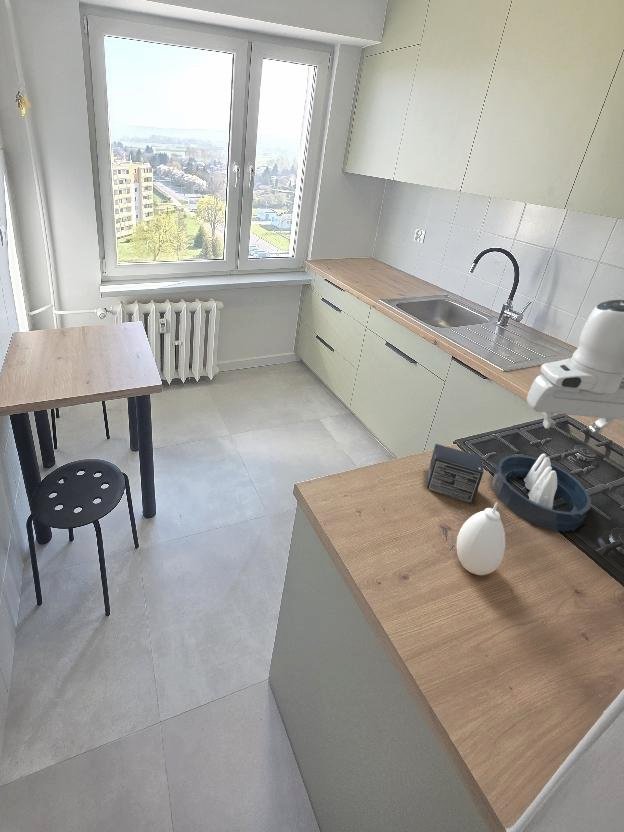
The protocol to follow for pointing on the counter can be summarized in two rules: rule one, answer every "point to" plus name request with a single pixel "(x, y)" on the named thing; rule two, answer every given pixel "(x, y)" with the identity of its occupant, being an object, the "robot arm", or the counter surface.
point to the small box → (455, 473)
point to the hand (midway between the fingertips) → (570, 429)
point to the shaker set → (542, 482)
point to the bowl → (532, 511)
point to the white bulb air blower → (481, 542)
